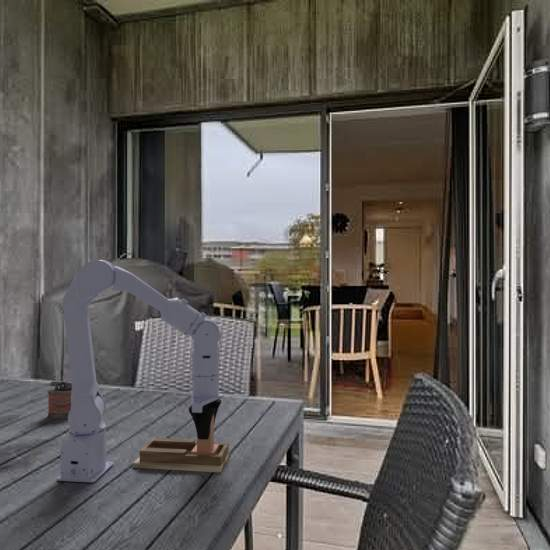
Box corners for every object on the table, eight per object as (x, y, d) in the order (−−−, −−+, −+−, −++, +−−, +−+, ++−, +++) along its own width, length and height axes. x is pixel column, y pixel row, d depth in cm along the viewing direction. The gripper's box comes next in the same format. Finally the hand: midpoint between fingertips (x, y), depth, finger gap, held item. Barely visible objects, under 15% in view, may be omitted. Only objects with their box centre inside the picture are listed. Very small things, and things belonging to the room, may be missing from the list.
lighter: (79, 414, 147) (79, 379, 146) (75, 417, 143) (74, 382, 143) (50, 414, 147) (50, 379, 146) (45, 418, 143) (45, 382, 143)
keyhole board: (220, 472, 107) (220, 456, 107) (132, 467, 109) (132, 451, 109) (230, 454, 117) (230, 439, 117) (149, 450, 119) (149, 435, 119)
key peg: (213, 457, 110) (214, 420, 109) (191, 456, 110) (191, 419, 110) (219, 448, 115) (219, 413, 114) (197, 447, 115) (197, 412, 115)
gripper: (215, 382, 104) (215, 448, 105) (230, 367, 119) (230, 426, 119) (181, 381, 105) (182, 447, 106) (200, 366, 120) (200, 424, 120)
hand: (205, 436), depth 112 cm, fingers closed on key peg, 3 cm apart
